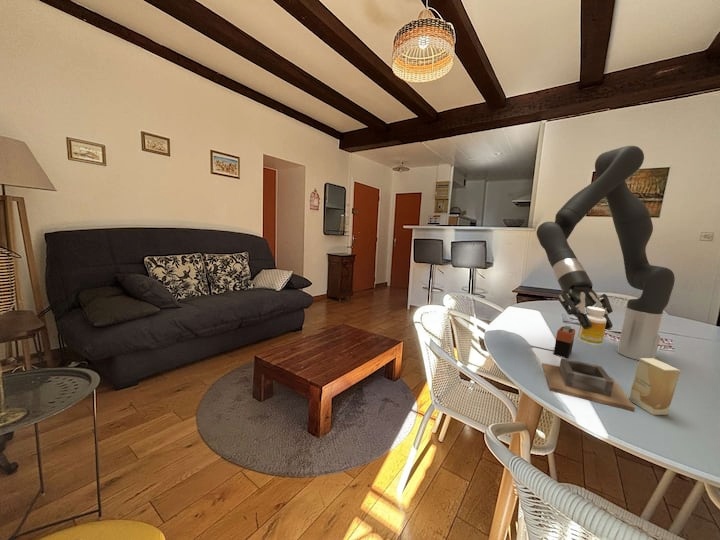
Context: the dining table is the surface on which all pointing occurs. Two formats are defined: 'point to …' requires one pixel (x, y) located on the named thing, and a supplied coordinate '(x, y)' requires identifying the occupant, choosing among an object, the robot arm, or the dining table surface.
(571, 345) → the battery
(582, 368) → the walnut holder board
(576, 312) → the robot arm
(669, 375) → the skincare box
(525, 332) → the dining table surface
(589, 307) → the supplement bottle
